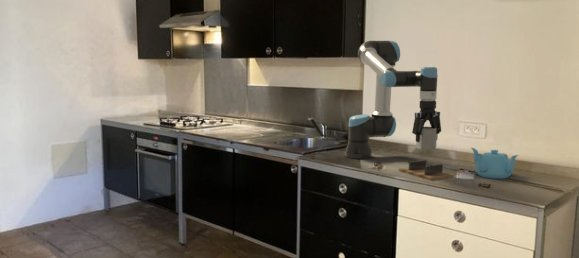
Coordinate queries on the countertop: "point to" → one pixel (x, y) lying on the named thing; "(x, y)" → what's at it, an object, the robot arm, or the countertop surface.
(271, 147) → the countertop surface
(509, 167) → the teapot
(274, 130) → the countertop surface
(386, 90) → the robot arm
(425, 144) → the cup
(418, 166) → the end holder
